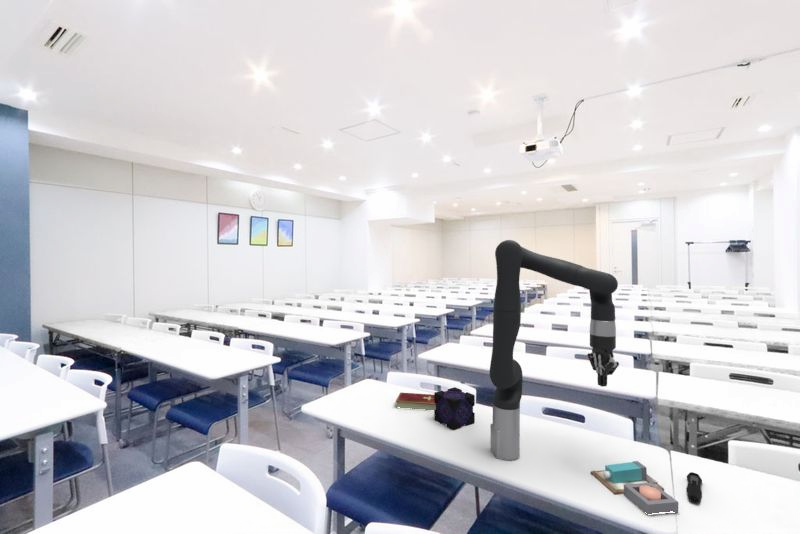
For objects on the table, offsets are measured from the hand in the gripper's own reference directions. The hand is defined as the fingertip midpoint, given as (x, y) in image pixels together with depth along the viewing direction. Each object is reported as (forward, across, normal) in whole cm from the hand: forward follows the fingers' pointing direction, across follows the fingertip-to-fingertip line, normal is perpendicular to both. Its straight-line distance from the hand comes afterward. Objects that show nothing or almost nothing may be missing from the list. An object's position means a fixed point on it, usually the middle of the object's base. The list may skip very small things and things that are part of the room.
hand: (602, 385), depth 122 cm
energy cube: (+27, +40, +39) cm, 62 cm away
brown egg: (+26, -19, -1) cm, 32 cm away
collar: (+27, -19, -1) cm, 33 cm away
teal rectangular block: (+26, -8, -2) cm, 27 cm away
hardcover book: (+28, +60, +50) cm, 83 cm away
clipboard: (+27, -8, -2) cm, 28 cm away
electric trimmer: (+28, -15, -19) cm, 37 cm away
